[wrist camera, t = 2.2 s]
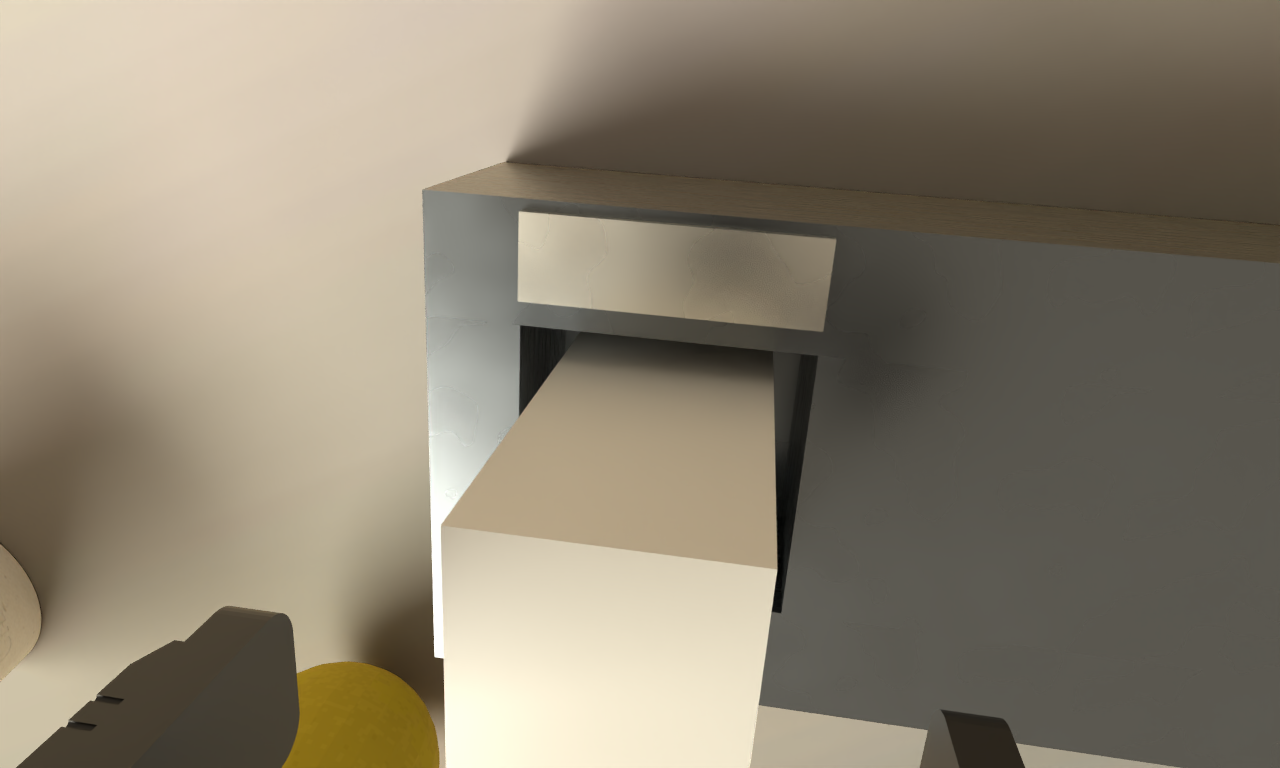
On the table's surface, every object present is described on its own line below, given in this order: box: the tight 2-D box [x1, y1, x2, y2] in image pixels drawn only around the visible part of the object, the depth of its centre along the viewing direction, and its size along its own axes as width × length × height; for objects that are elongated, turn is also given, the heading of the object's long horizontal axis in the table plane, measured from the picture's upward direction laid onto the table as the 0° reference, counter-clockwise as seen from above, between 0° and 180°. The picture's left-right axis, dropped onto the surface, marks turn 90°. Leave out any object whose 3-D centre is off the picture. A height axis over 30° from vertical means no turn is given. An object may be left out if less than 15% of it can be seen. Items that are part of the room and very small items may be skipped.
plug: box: [441, 332, 777, 768], centre depth 15 cm, size 5×4×10 cm
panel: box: [422, 162, 1280, 768], centre depth 18 cm, size 10×25×5 cm, turn 86°
